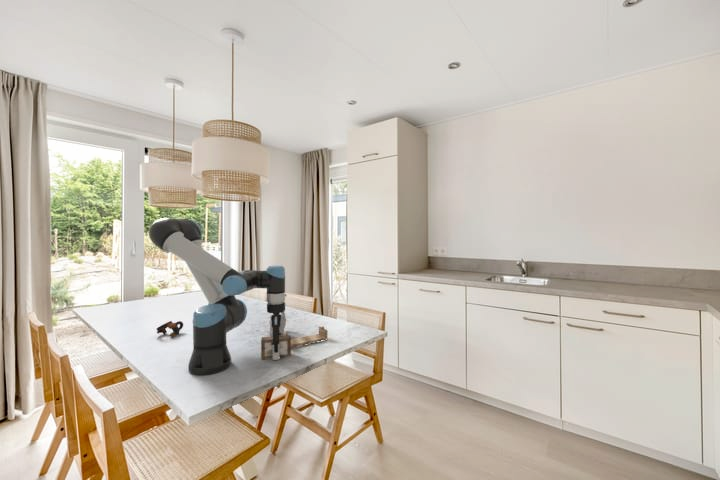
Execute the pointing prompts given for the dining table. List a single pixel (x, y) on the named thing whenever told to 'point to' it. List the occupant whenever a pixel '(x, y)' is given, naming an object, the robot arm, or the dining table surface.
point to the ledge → (309, 338)
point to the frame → (268, 348)
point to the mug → (282, 325)
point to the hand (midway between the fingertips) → (276, 354)
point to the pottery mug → (172, 326)
